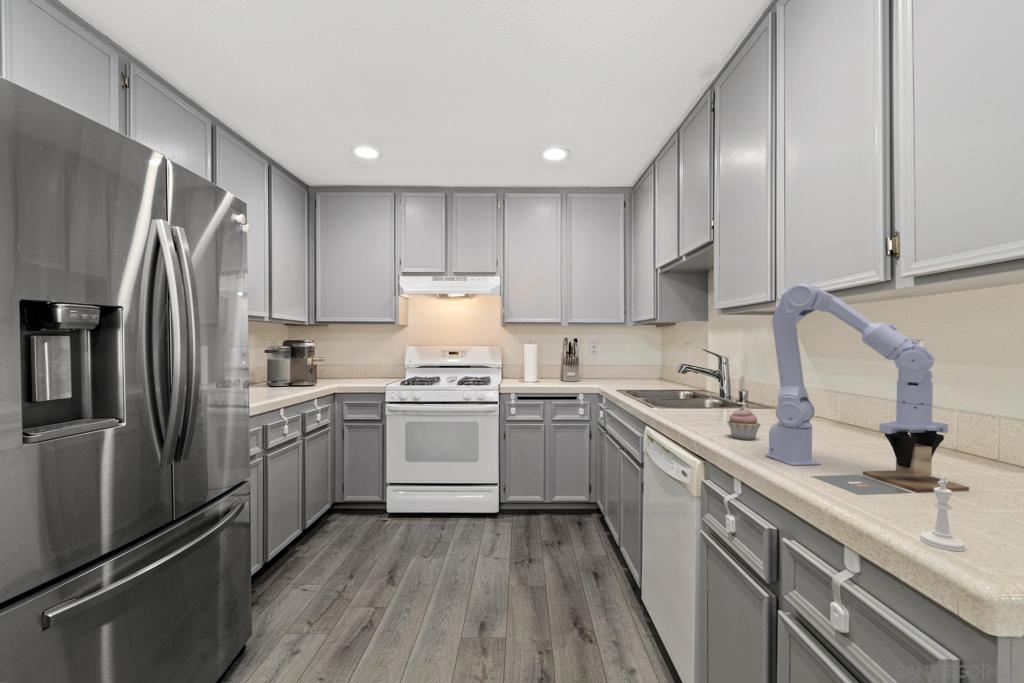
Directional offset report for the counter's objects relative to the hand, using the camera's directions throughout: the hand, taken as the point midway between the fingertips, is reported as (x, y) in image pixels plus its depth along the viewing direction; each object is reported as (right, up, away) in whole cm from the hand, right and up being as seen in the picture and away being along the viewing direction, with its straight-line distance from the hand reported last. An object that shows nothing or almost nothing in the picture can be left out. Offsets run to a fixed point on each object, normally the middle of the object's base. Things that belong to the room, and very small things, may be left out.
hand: (913, 466), depth 96 cm
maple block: (0, -1, 0) cm, 1 cm away
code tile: (-13, -3, -2) cm, 13 cm away
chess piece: (-22, -4, -29) cm, 36 cm away
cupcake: (-14, -3, +43) cm, 45 cm away
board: (0, -4, 0) cm, 3 cm away
